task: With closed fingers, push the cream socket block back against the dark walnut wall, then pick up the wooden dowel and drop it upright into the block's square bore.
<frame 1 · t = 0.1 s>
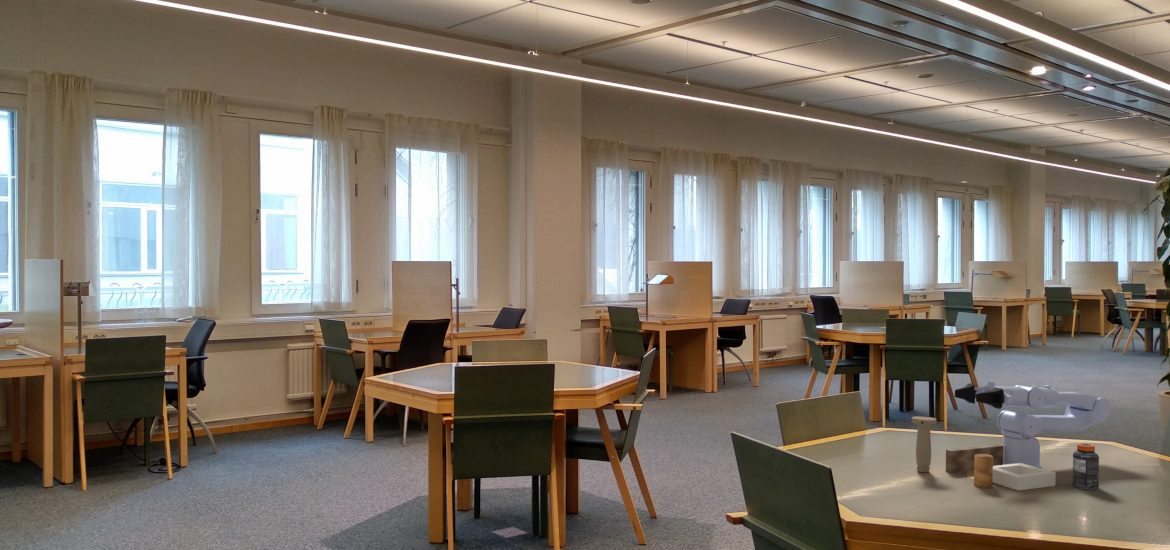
hand: (966, 395, 238), 22 cm above the table, tool horizontal, fingers open, 7 cm apart
socket block: (1019, 482, 229), on the table
pill bottle: (1085, 487, 225), on the table
dowel: (983, 485, 226), on the table
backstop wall: (974, 468, 243), on the table
handle: (923, 472, 240), on the table
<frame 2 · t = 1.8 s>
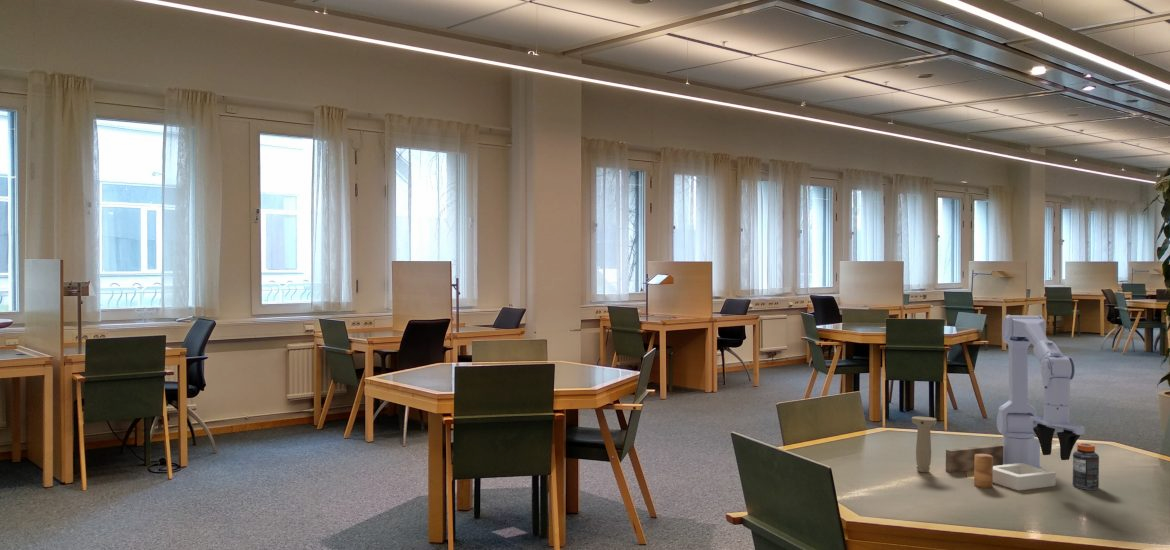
hand: (1055, 457, 218), 9 cm above the table, tool pointing down, fingers open, 5 cm apart
nothing on the table moved.
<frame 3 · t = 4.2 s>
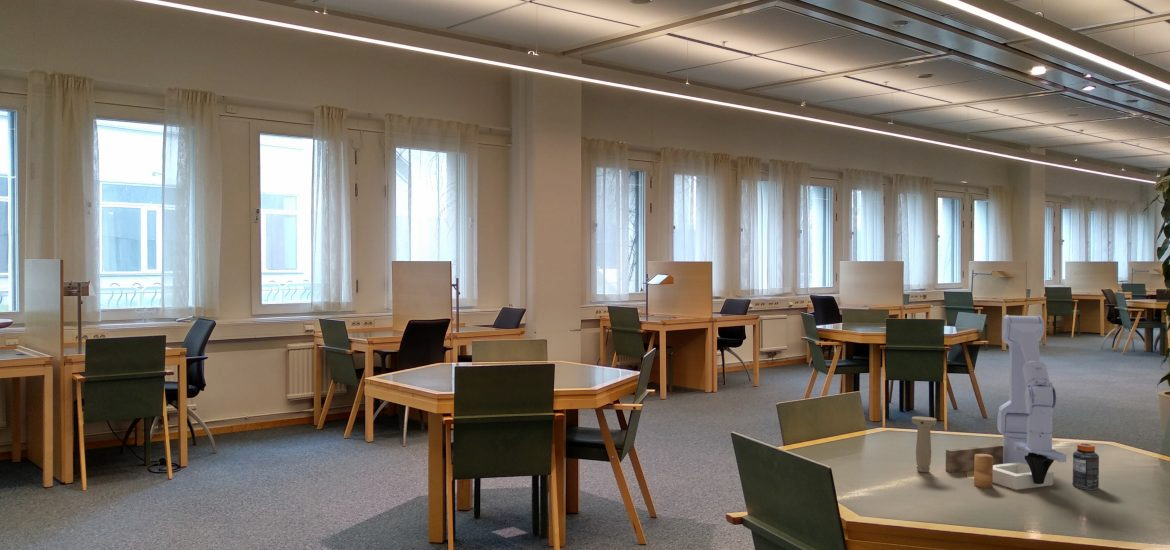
hand: (1038, 483, 223), 1 cm above the table, tool pointing down, fingers closed
socket block: (1017, 482, 229), on the table, touching gripper
everything else where it was.
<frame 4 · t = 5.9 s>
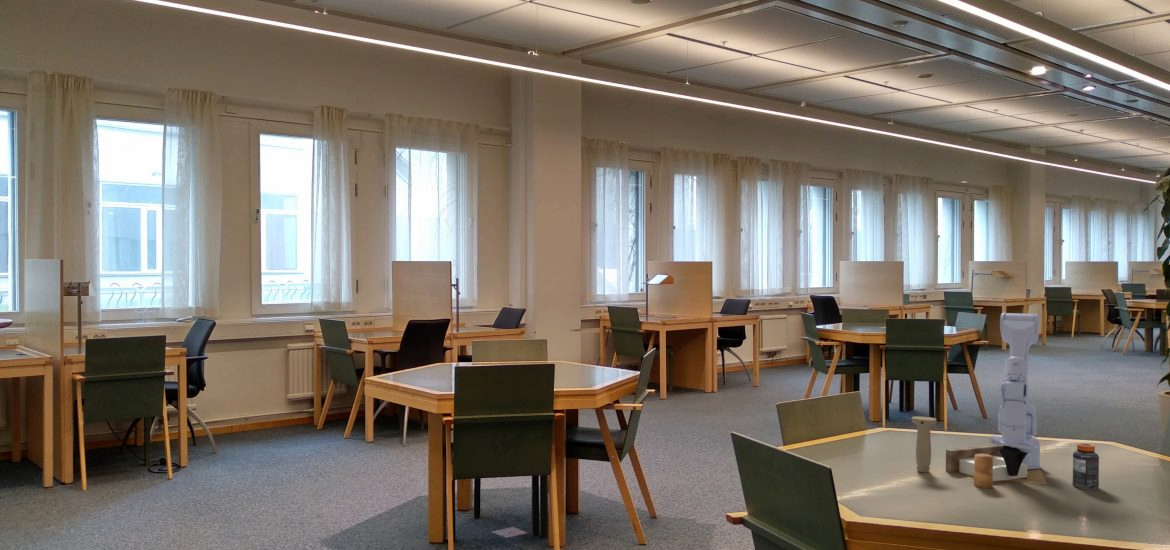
hand: (1012, 475, 231), 1 cm above the table, tool pointing down, fingers closed
socket block: (992, 474, 237), on the table, touching gripper
everything else where it was.
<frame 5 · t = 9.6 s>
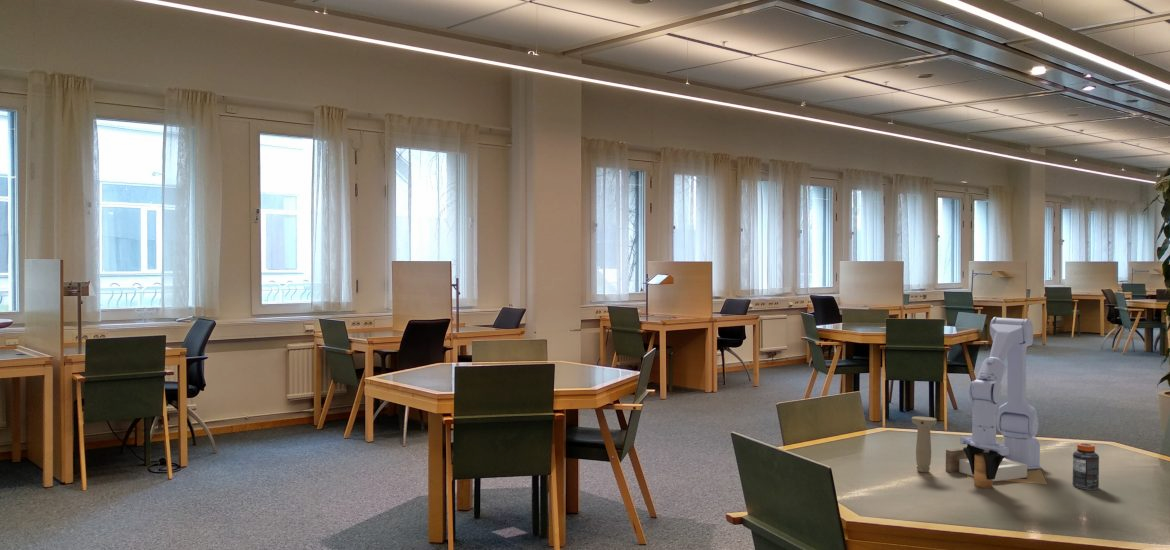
hand: (983, 476, 225), 2 cm above the table, tool pointing down, fingers closed on dowel, 4 cm apart
socket block: (992, 474, 237), on the table
dowel: (983, 485, 226), on the table, touching gripper
everything else where it was.
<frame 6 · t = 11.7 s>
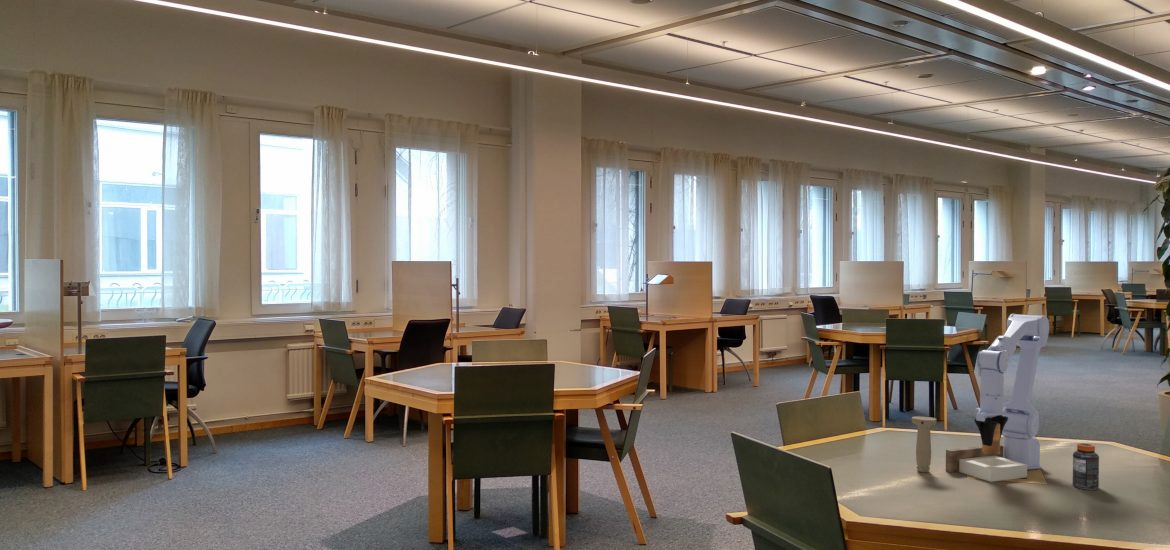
hand: (991, 443, 233), 9 cm above the table, tool pointing down, fingers closed on dowel, 4 cm apart
dowel: (990, 452, 233), point 7 cm above the table, touching gripper
everything else where it was.
when the fingers open (4 cm above the table, at t = 13.9 s): dowel drops 2 cm, resting in socket block.
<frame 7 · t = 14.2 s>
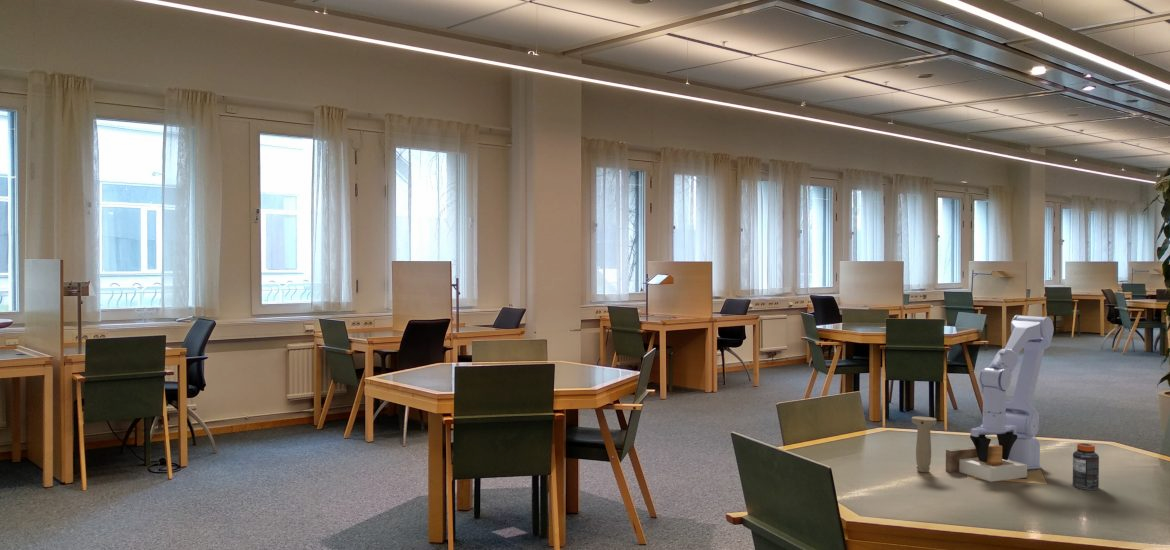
hand: (993, 460, 237), 4 cm above the table, tool pointing down, fingers open, 7 cm apart
dowel: (993, 474, 237), resting in socket block
everything else where it was.
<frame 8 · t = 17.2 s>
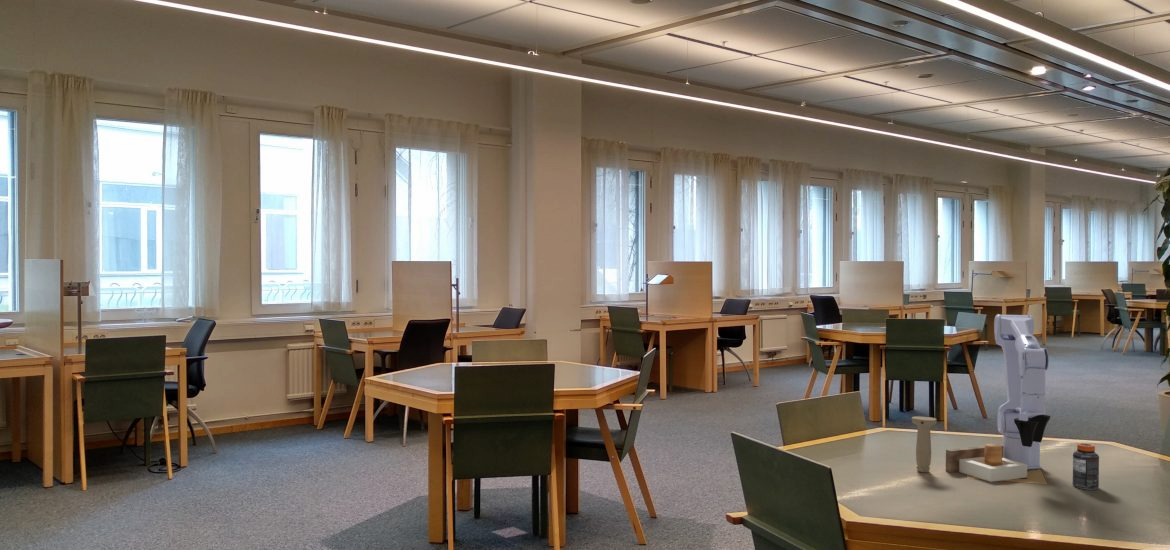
hand: (1031, 444, 228), 10 cm above the table, tool pointing down, fingers open, 7 cm apart
nothing on the table moved.
at the end: socket block 0.1 cm from the target spot, on the table; dowel 0.1 cm off-centre on the socket block, point 0.0 cm above the socket block's base; dowel tilted 0° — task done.
